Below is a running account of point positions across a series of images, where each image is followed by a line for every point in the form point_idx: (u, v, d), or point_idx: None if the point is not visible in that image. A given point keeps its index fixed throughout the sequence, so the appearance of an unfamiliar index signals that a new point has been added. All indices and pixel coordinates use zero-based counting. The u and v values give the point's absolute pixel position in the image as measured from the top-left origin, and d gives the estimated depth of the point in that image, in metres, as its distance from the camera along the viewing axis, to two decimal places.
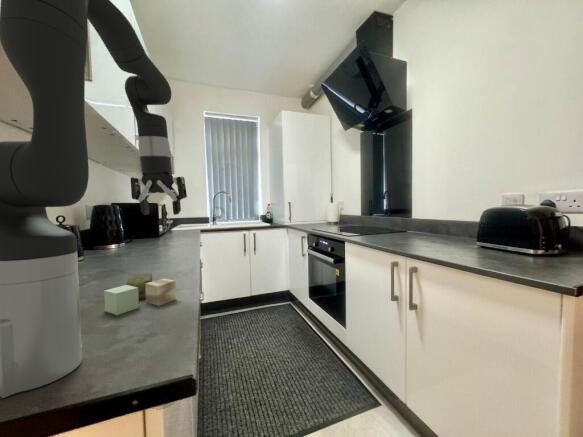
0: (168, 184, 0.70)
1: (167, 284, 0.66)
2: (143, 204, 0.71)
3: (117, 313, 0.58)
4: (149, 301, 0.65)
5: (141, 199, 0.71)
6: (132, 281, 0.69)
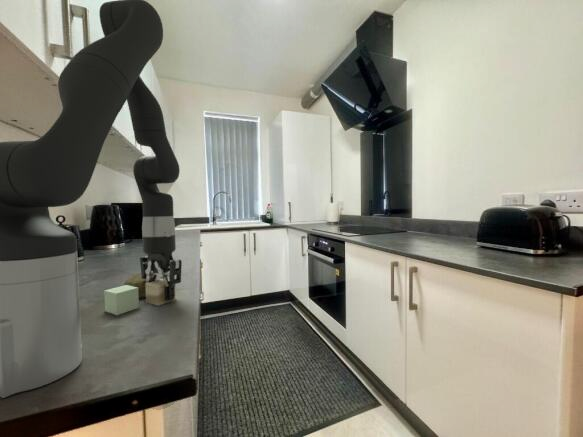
0: (164, 267, 0.64)
1: None
2: None
3: (117, 313, 0.58)
4: (149, 301, 0.65)
5: (147, 280, 0.68)
6: (130, 280, 0.69)
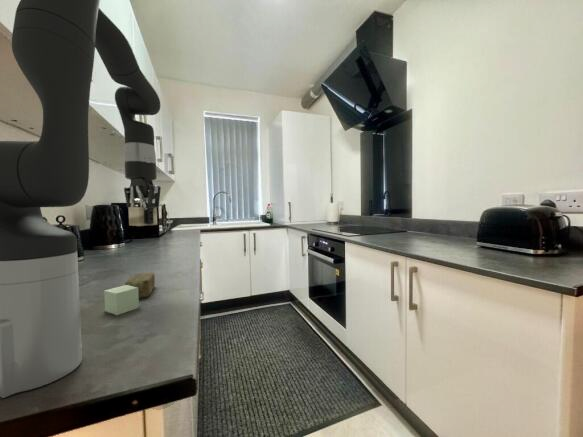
0: (144, 192, 0.69)
1: None
2: None
3: (117, 313, 0.58)
4: (132, 223, 0.70)
5: None
6: (131, 280, 0.69)
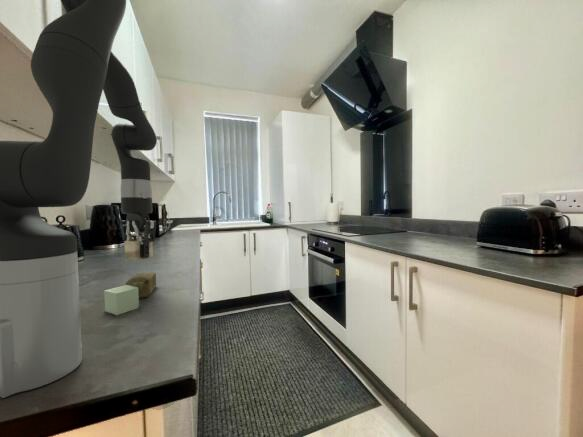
0: (140, 227, 0.70)
1: None
2: None
3: (117, 313, 0.58)
4: (127, 257, 0.71)
5: None
6: (132, 280, 0.69)
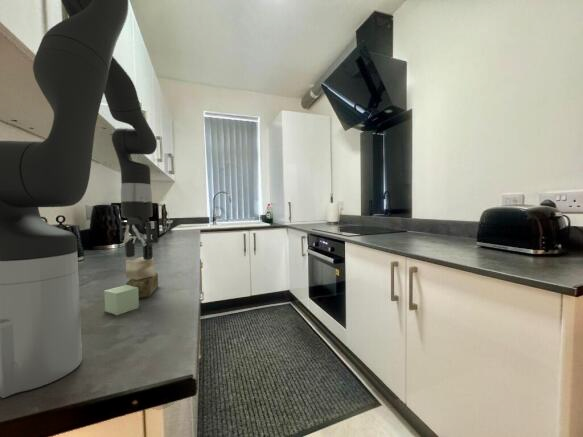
0: (141, 229, 0.70)
1: (146, 261, 0.72)
2: (126, 247, 0.74)
3: (117, 313, 0.58)
4: (129, 276, 0.72)
5: (125, 242, 0.74)
6: (133, 280, 0.70)
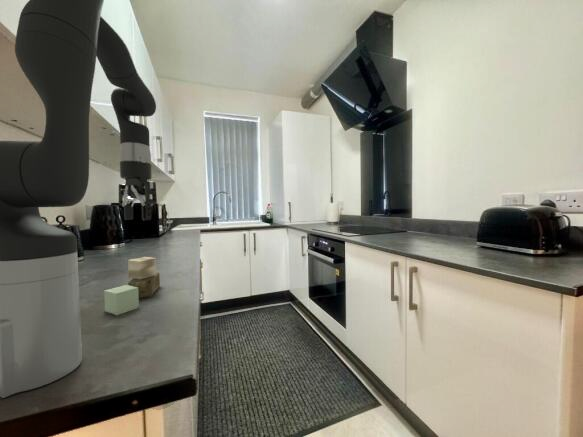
0: (140, 189, 0.70)
1: (148, 260, 0.72)
2: (125, 209, 0.74)
3: (117, 313, 0.58)
4: (131, 276, 0.72)
5: (123, 204, 0.74)
6: (135, 280, 0.70)
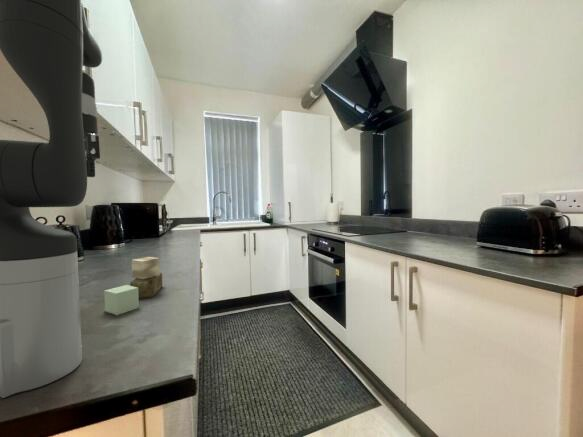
0: None
1: (151, 260, 0.73)
2: None
3: (117, 313, 0.58)
4: (135, 276, 0.72)
5: None
6: (137, 280, 0.70)
